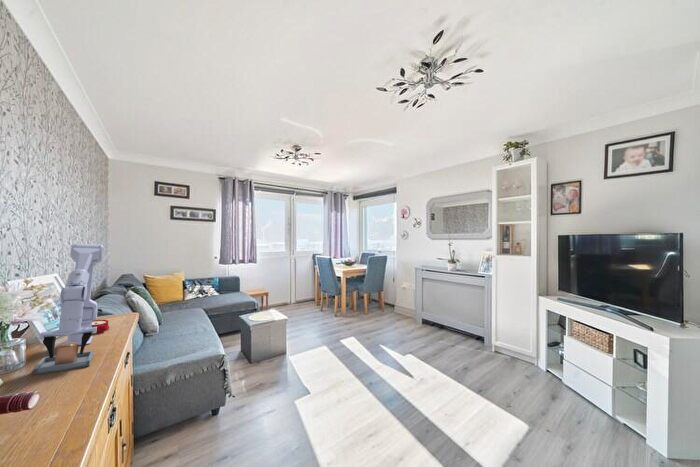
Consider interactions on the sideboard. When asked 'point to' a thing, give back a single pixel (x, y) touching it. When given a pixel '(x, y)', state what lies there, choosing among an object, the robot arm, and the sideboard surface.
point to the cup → (66, 353)
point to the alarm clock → (100, 325)
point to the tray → (49, 364)
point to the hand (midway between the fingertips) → (66, 355)
